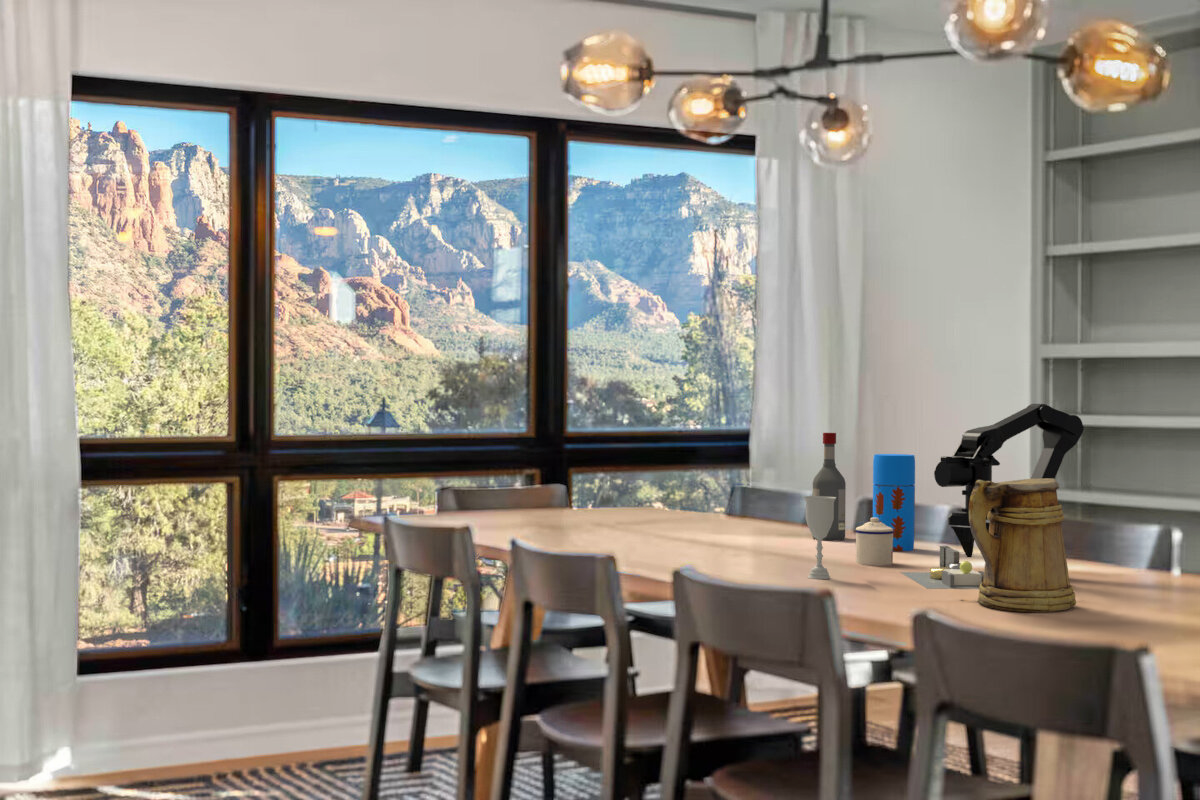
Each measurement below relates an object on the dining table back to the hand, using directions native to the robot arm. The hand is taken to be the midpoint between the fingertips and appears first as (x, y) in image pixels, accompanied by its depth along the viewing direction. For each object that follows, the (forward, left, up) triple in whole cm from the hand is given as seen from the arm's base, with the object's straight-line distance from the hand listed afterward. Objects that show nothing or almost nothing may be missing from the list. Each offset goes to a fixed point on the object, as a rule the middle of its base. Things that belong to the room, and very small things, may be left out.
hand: (978, 555), depth 316 cm
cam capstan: (+8, +1, -4) cm, 9 cm away
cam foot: (+7, +15, -4) cm, 17 cm away
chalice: (+36, +1, -5) cm, 36 cm away
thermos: (+7, -57, -5) cm, 58 cm away
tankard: (+4, +42, -5) cm, 42 cm away
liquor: (+20, -82, -5) cm, 85 cm away
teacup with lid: (+20, -21, -5) cm, 29 cm away
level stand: (+6, +10, -5) cm, 13 cm away
